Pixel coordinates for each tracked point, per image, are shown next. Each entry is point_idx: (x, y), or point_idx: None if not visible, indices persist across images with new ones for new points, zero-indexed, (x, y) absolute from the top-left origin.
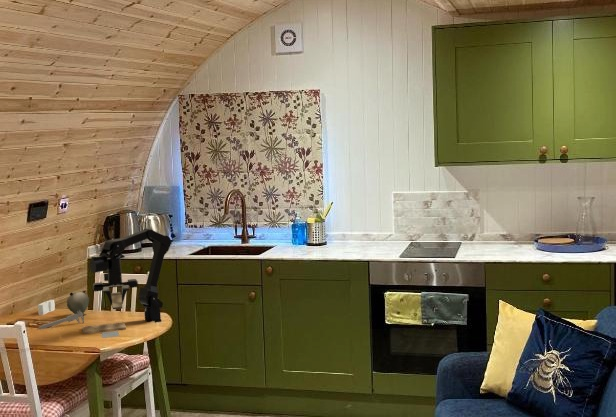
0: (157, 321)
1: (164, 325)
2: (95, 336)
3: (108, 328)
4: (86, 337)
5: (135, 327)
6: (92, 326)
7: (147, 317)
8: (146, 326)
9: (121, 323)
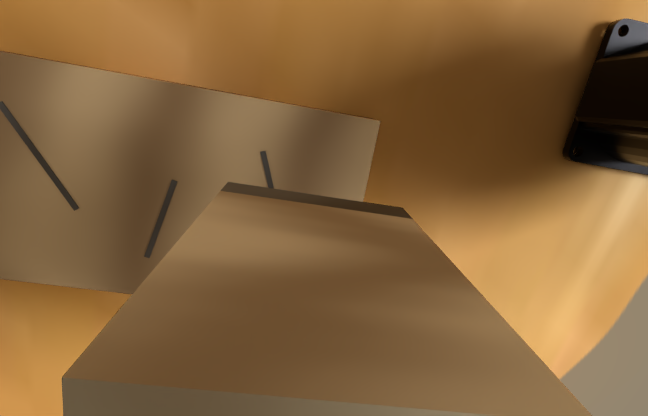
0: (642, 173)
1: (615, 304)
2: (87, 338)
3: None
4: (14, 331)
5: None
6: (45, 102)
7: (615, 133)
8: (506, 260)
9: (341, 158)
